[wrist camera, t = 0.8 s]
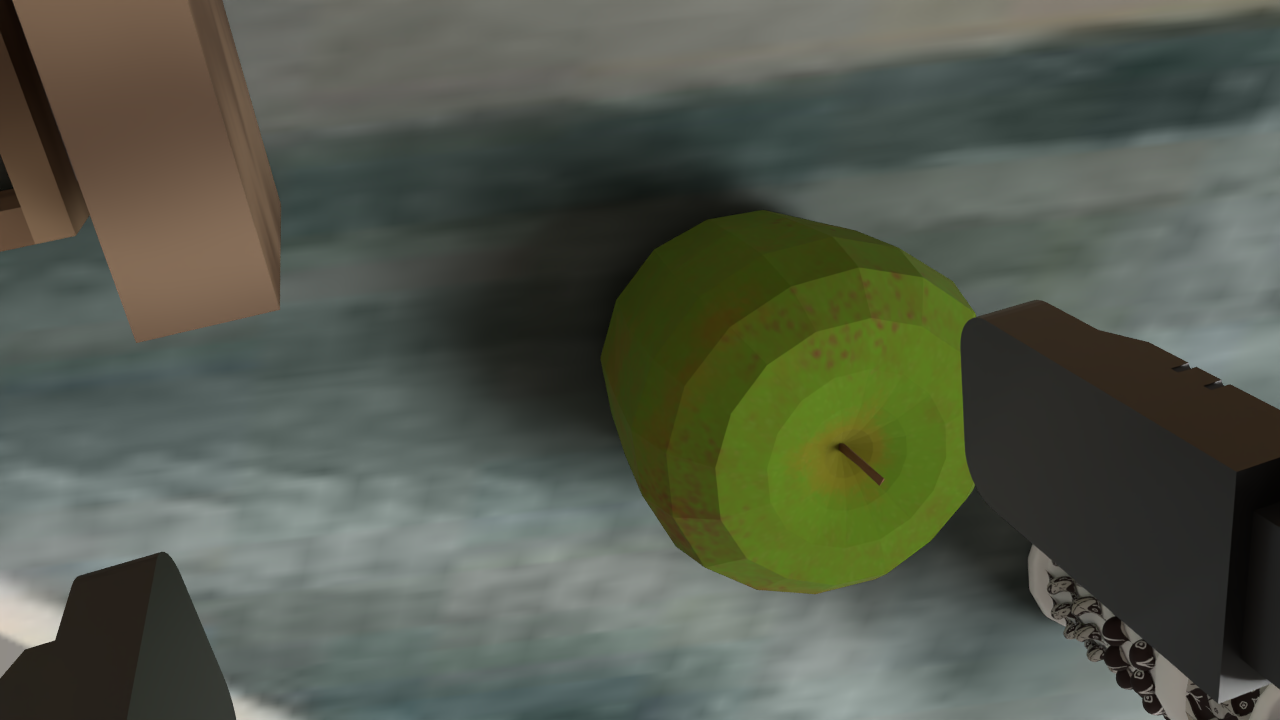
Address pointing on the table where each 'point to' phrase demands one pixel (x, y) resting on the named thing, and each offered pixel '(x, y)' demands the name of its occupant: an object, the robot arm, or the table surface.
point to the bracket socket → (140, 154)
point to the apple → (791, 399)
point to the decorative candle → (1135, 653)
